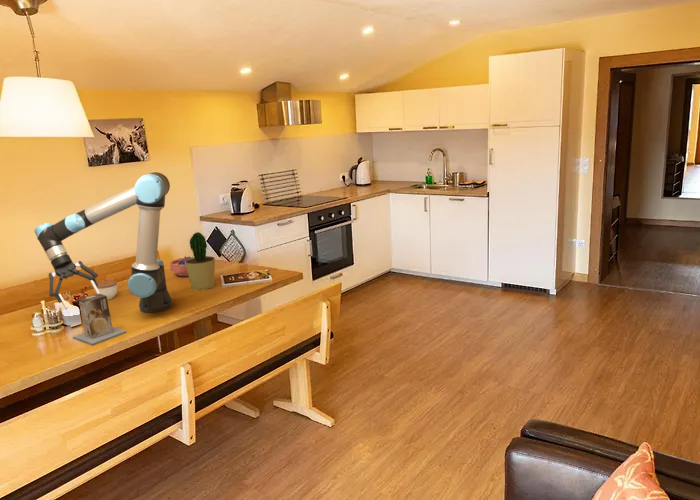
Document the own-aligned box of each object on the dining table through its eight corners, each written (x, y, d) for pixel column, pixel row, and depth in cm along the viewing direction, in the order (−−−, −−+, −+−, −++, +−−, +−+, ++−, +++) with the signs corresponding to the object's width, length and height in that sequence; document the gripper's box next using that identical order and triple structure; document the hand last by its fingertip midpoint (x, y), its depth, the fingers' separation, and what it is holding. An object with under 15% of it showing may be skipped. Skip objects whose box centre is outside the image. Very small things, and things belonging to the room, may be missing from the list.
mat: (106, 326, 238) (106, 324, 238) (126, 332, 229) (126, 330, 229) (73, 338, 226) (72, 336, 226) (92, 345, 217) (92, 343, 217)
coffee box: (106, 328, 233) (100, 293, 229) (113, 332, 228) (107, 295, 225) (84, 335, 226) (78, 299, 222) (91, 339, 222) (84, 301, 218)
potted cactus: (201, 281, 299) (195, 227, 292) (224, 283, 292) (217, 228, 285) (181, 289, 285) (174, 233, 278) (204, 292, 279) (197, 235, 272)
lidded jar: (105, 294, 285) (102, 277, 283) (123, 294, 283) (120, 277, 281) (91, 301, 275) (88, 283, 273) (110, 301, 273) (107, 283, 270)
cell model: (192, 269, 326) (190, 250, 323) (209, 274, 312) (206, 255, 309) (165, 275, 315) (163, 256, 312) (181, 281, 301) (178, 261, 298)
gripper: (87, 248, 244) (110, 290, 243) (28, 272, 230) (52, 316, 229) (89, 243, 238) (112, 286, 237) (28, 267, 223) (53, 312, 223)
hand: (82, 301), depth 233 cm, fingers open, 13 cm apart
